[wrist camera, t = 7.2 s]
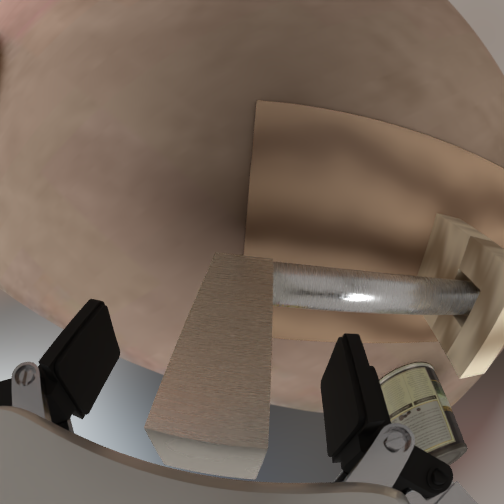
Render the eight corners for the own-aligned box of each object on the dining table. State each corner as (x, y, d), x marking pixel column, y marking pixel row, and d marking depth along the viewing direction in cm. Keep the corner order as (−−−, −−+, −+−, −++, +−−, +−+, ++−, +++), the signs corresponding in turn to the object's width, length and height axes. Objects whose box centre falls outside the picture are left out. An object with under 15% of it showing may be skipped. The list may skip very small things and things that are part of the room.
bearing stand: (257, 102, 18) (237, 63, 7) (529, 184, 17) (600, 223, 6) (239, 324, 26) (220, 431, 16) (475, 330, 25) (515, 394, 15)
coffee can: (446, 362, 28) (482, 441, 15) (407, 406, 32) (427, 479, 20) (394, 358, 28) (428, 457, 15) (354, 405, 32) (368, 492, 19)
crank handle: (218, 288, 17) (164, 464, 6) (219, 243, 15) (144, 427, 5) (458, 306, 16) (528, 415, 6) (473, 271, 15) (560, 376, 5)
